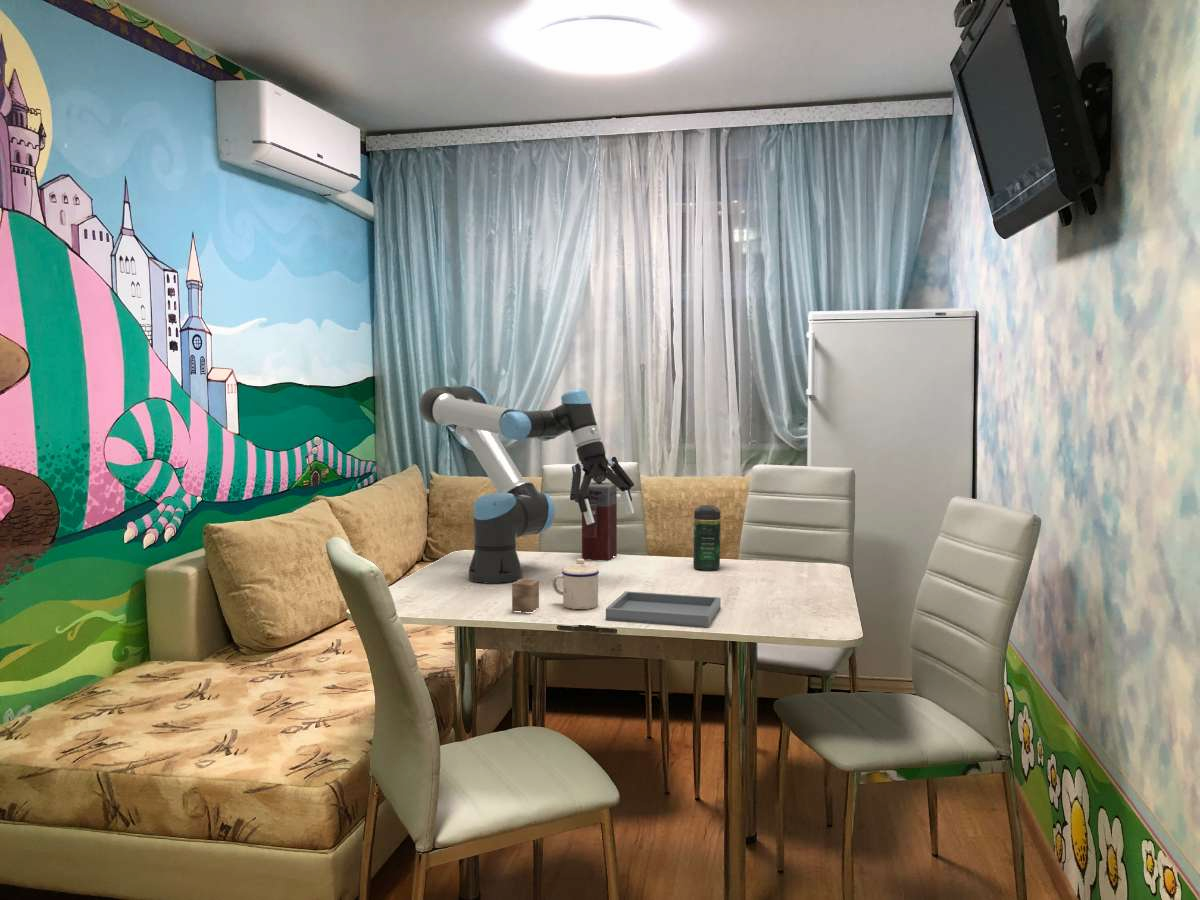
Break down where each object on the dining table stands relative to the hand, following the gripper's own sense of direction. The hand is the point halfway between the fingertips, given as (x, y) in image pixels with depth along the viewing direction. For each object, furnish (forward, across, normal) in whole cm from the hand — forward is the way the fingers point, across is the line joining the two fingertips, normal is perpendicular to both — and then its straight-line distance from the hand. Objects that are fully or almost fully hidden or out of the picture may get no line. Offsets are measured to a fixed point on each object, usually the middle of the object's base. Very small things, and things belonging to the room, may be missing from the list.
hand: (610, 518), depth 241 cm
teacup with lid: (+20, -22, -5) cm, 30 cm away
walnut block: (+17, -34, -3) cm, 38 cm away
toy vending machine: (+8, +18, +37) cm, 42 cm away
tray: (+27, -10, -23) cm, 37 cm away
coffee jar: (+20, +35, +8) cm, 41 cm away
